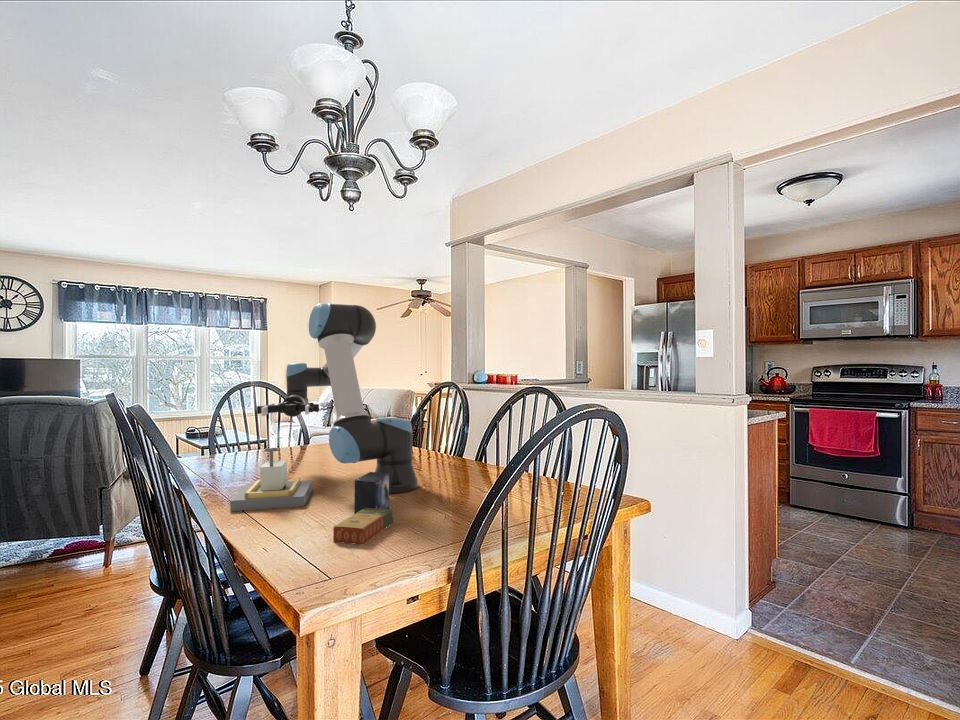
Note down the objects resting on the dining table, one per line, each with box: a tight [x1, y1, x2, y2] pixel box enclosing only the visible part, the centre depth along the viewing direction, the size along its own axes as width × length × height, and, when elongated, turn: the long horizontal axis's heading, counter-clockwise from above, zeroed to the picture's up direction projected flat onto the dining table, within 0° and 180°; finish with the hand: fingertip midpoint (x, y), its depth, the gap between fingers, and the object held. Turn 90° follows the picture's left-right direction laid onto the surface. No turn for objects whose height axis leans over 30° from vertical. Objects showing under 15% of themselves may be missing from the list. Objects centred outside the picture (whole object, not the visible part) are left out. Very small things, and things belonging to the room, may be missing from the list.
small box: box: [353, 471, 390, 515], centre depth 144 cm, size 11×6×10 cm, turn 168°
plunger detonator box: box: [259, 447, 288, 492], centre depth 159 cm, size 6×9×14 cm, turn 11°
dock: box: [229, 477, 313, 512], centre depth 159 cm, size 20×20×4 cm
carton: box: [332, 508, 394, 545], centre depth 129 cm, size 8×16×4 cm, turn 165°
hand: (284, 411), depth 171 cm, fingers open, 13 cm apart
